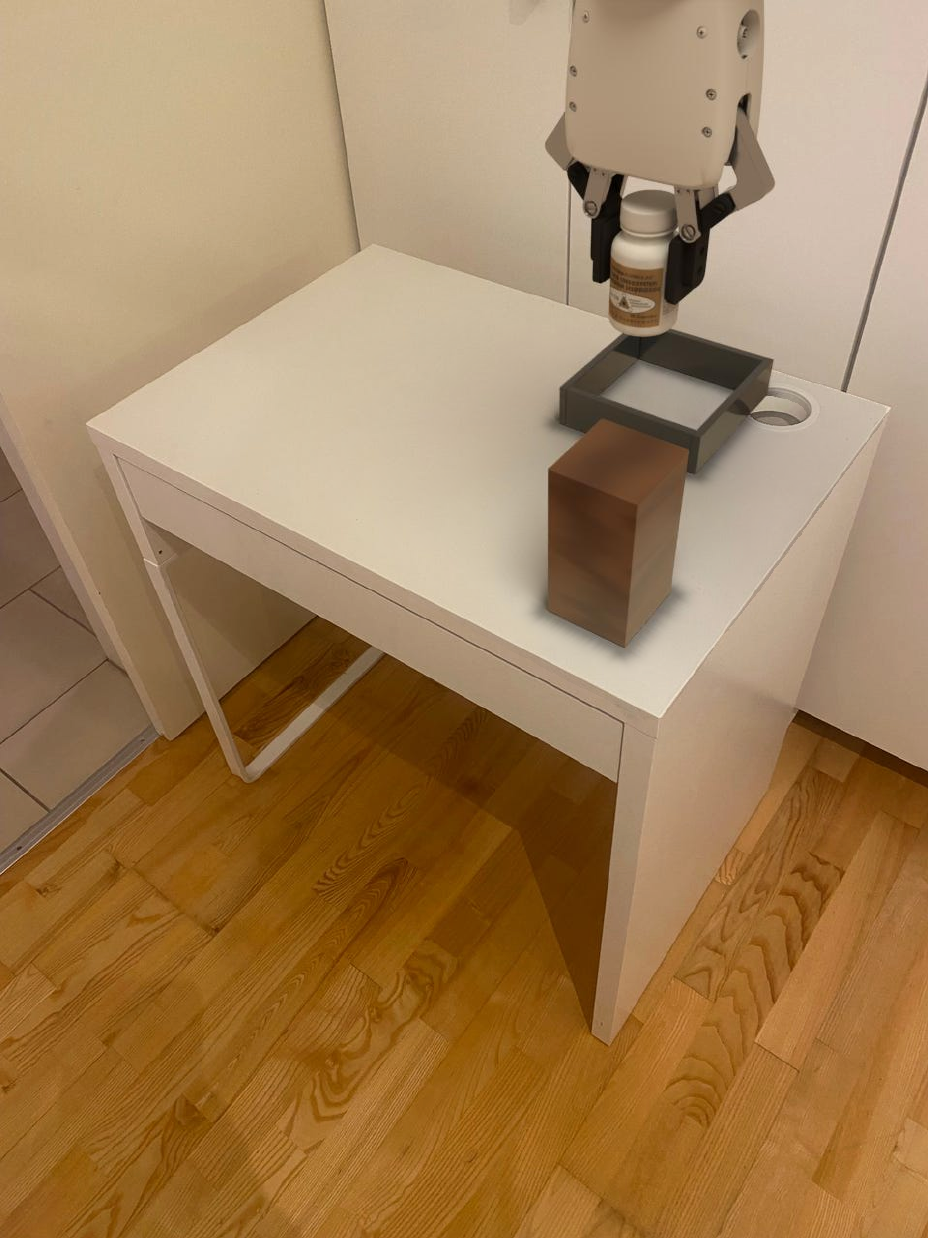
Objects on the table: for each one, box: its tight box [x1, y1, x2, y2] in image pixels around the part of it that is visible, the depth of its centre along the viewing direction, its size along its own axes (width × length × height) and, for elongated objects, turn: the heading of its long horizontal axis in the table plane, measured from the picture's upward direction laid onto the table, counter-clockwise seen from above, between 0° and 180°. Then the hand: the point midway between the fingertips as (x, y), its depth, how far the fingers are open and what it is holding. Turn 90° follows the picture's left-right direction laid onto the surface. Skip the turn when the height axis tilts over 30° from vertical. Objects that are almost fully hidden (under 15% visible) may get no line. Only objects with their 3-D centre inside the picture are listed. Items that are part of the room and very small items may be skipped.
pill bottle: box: [607, 189, 680, 337], centre depth 59 cm, size 4×4×8 cm
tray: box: [558, 328, 774, 475], centre depth 91 cm, size 15×15×4 cm
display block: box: [547, 418, 689, 648], centre depth 70 cm, size 7×7×14 cm
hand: (645, 281), depth 60 cm, fingers closed on pill bottle, 4 cm apart
